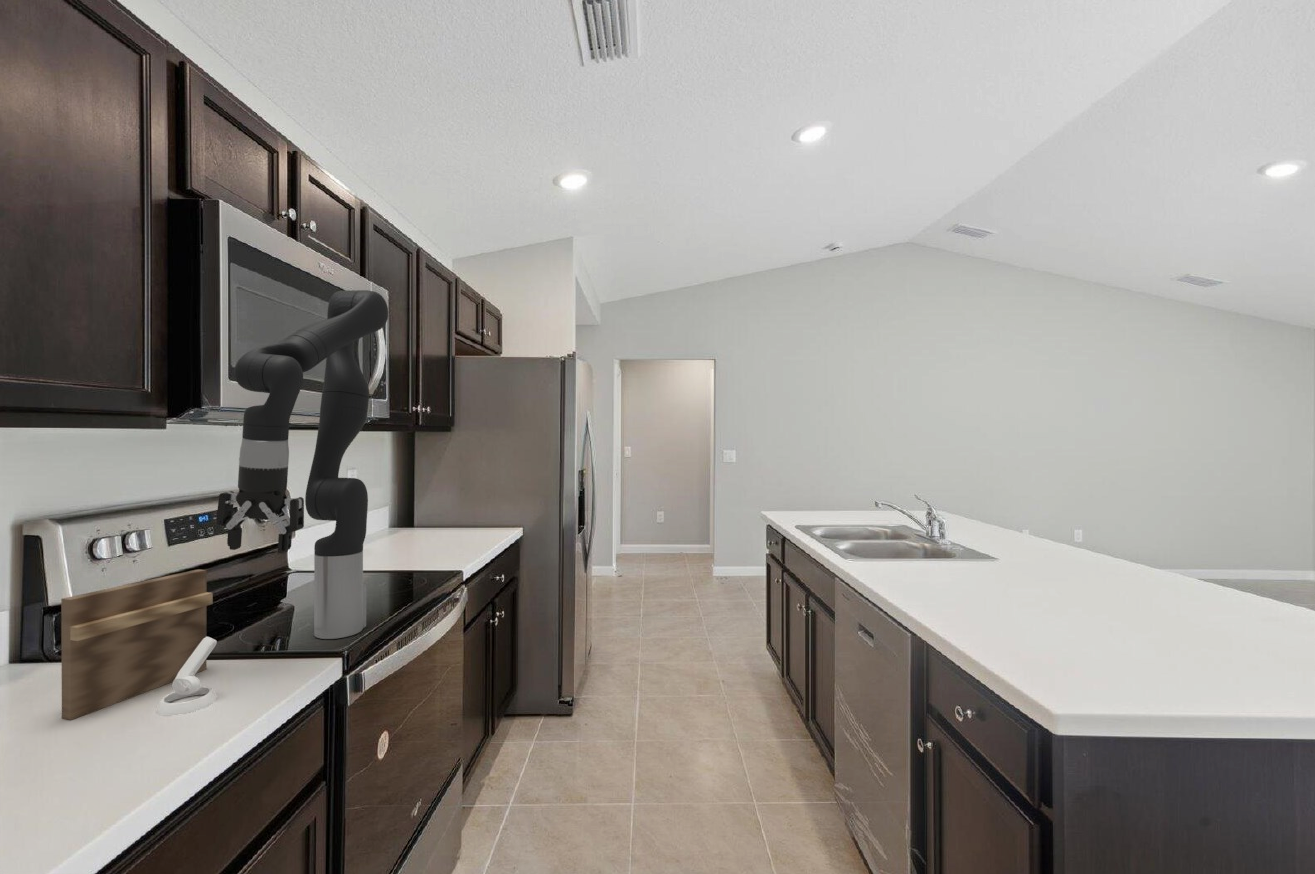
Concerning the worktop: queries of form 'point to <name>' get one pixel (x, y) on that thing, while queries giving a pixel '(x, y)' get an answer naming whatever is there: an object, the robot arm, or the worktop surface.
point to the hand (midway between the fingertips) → (258, 550)
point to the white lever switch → (189, 684)
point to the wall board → (129, 639)
